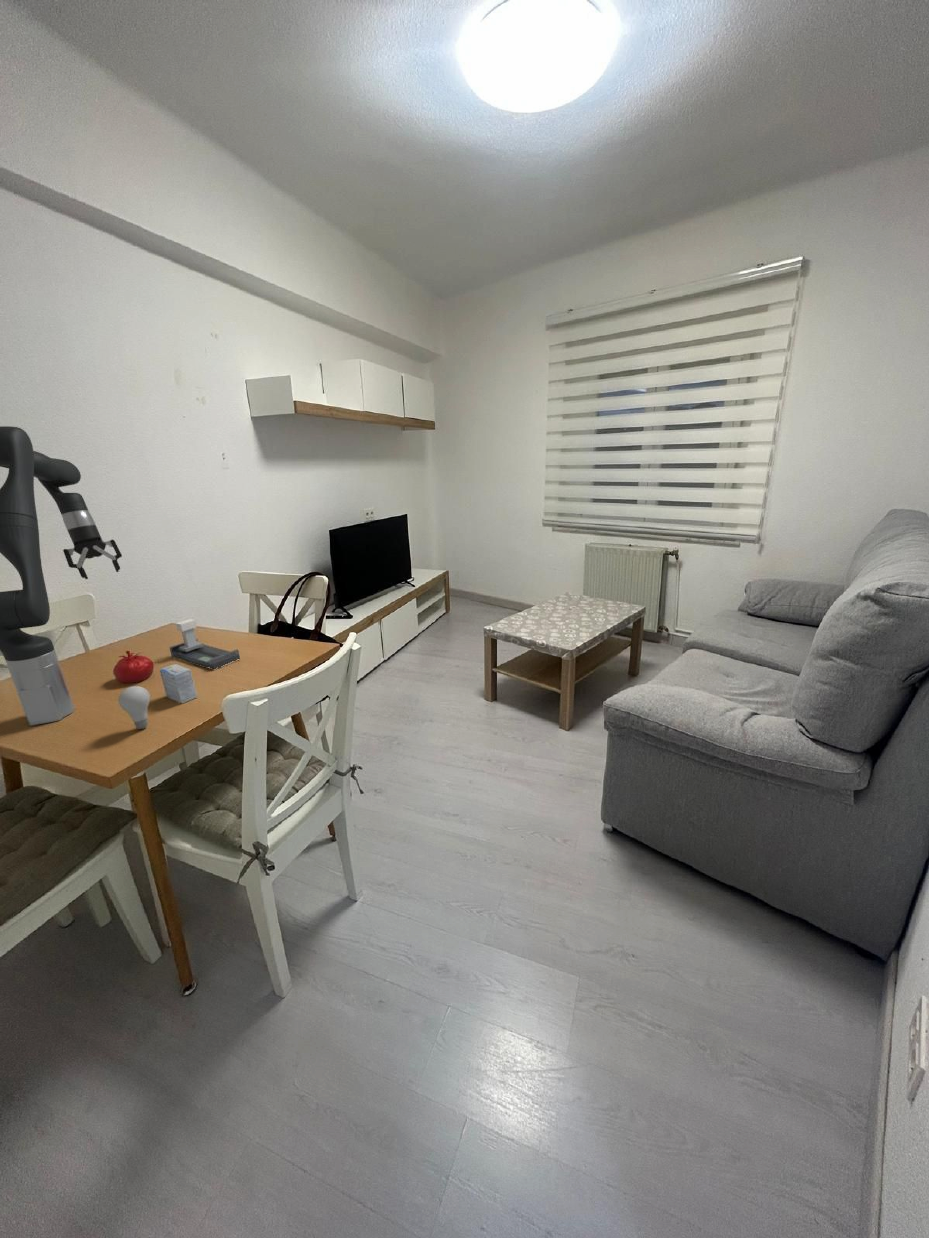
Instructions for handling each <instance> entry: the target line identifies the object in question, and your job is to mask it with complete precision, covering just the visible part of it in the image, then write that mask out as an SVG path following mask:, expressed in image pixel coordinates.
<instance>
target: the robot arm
mask: <svg viewBox="0 0 929 1238" xmlns="http://www.w3.org/2000/svg"><path fill="white" fill-rule="evenodd" d="M0 468H4V469H5V468H6V469H8V474H7V477H6V479H5V482H4V483H3V484H2V486H1V487H0V554H1V555H2V556H3V557H4V558H5V559H7V561H9V563H10V564H12V566H13V567H14V568H15V569H16V571H17V572H18V575H19V577H20V580H21V584H22V589H16V590H15V589H14V590H7V591H6V590H5V591H0V653H2V655H3V659H4V660H5V663H6V666H7V669H8V671H9V674H10V677H11V679H12V683H13V685H14V688H15V690H16V693H17V696H18V699H19V701H20V703H21V704H20V705H21V706H22V709H23V711H24V714H25V717H26V720H27V723H28V725H29V726H30V727H32V726H36V725H42V724H47V723H52V722H57V721H61V720H62V719H63V718H65V717H67V716H68V715H70V714H72V713H73V712H74V711H75V707H74V703H73V700H72V698H71V694H70V691H69V689H68V685H67V683H66V680H65V677H64V673H63V670H62V668H61V664H60V661H59V659H58V655H57V652H56V650H55V647H54V643H53V641H52V640H51V639H50V638H49V637H47V636H46V637H45V636H40V635H35V634H30V633H27V632H25V631H24V630H21V629H27V628H35V627H41V626H45V625H46V624H47V623H48V622H49V620H50V617H51V616H50V615H51V610H50V602H49V596H48V591H47V587H46V586H47V585H46V581H45V577H44V572H43V565H42V558H41V547H40V546H41V545H40V543H41V542H40V531H39V521H38V515H37V509H36V508H37V507H36V498H35V486H34V485H35V481H34V480H35V478H36V479H37V480H38V482H40V484H41V485H42V486H43V487H44V488H45V490H46V491H47V492H48V493H49V495H50V496H51V497H52V499H53V500H54V502H55V503H56V505H57V508H58V511H59V512H60V514H61V518H62V521H63V524H64V526H65V529H66V530H67V533H68V535H69V537H70V540H71V541H72V544H73V548H64V549H62V551H63V554H64V557H65V560H66V562H67V564H68V567H69V568H70V569H77V570H78V572H79V574H80V577H81V578H82V579H85V580H88V579H89V577H88V575H87V573H86V570H85V568H84V567H83V566H84V563H85V561H86V559H87V560H88V559H89V560H90V559H92V558H93V559H94V558H99V557H101V556H105V557H106V558H108V559H110V560H111V562H112V564H113V567H114V570H115V571H116V573H119V572H120V570H121V567H120V564H119V562H118V559H121V558H122V557H123V555H122V552H121V550H120V549H119V547H118V544H117V543H116V541H115V539H110V540H108V541H104V540H103V538H102V536H101V534H100V532H99V529H98V526H97V525H96V521H95V519H94V518H93V516H92V514H91V513H90V510H89V509H88V506H87V504H86V501H85V499H84V497H83V495H82V494H80V493H79V492H63V491H62V490H61V489H60V488H62V487H68V486H73V485H77V484H78V483H80V481H81V477H82V475H81V472H80V469H78V467H77V466H76V465H74V463H72V462H71V461H68V460H66V459H65V460H64V459H60V458H52V457H49V456H48V455H47V454H44V453H41V452H40V451H36V450H34V448H33V443H32V440H31V438H30V436H29V435H28V433H27V432H26V431H25V430H24V429H23V428H20V427H18V426H10V425H8V426H6V425H5V426H4V425H3V426H1V425H0ZM106 546H109V547H110V548H113V550H114V552H115V555H113V554H111V553H109V552H108V551H106V550H105V549H106ZM74 552H75V553H76V554H78V555H79V559H78V561H77V563H74V561H73V558H72V556H73V555H74Z"/></svg>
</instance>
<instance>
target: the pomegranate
mask: <svg viewBox="0 0 929 1238" xmlns="http://www.w3.org/2000/svg"><path fill="white" fill-rule="evenodd" d="M144 653H145V652H142V654H144ZM125 654H126V655H120V656H118V658H121V659H119V660H118V661H117V662H116V664H115V666H114V667H113V670H112V672H113V673H112V674H113V675H114V678H115V679H116V681H117V682H119V683H120V684H132V683H138V682H142V681H144V680H146V679H148V678H150V677H151V676H152V674H153V672H154V667H155V665H154V661H153V660H151V659H150V658H148V657H147V656H145V655H140V652H138V653H136V654H135V652H131V651H130V650H126V651H125ZM133 654H135V655H133Z"/></svg>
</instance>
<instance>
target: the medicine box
mask: <svg viewBox="0 0 929 1238" xmlns="http://www.w3.org/2000/svg"><path fill="white" fill-rule="evenodd" d="M159 674H160V677H161V678H160V679H161V681H162V684H163V688H164V692H165V695H166V698H168V699H170V700H173V701H176V702H177V703H180V704H186V703H188V702H190V701H193V700H194V699H197V698H198V694H197V689H196V686H195V683H194V679H193V675H192V670H191V669H190V668H188V667H185V666H181V665H179V664H177V663H175V664H170V665H168V666H165V667H163V668H161V669H159Z"/></svg>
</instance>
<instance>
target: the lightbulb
mask: <svg viewBox="0 0 929 1238" xmlns="http://www.w3.org/2000/svg"><path fill="white" fill-rule="evenodd" d="M150 701H151V695H150V693H149V691H148V690H147V689H146V688H144V687H143V686H139V685H136V686H134V685H133V686H129V687H127V688H125V689H124V690H123V691H122V692H120V694H119V696H118V704H119V707H120V708H121V709H122V710H124V711H125V712H126V713H127V714H128V715H129V717H130V718H131V720H132V722H133V723H134V726H135V728H136V729H140V730H143V729H146V727H148V725H149V721H148V716H149V715H148V707H149V705H150Z"/></svg>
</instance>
